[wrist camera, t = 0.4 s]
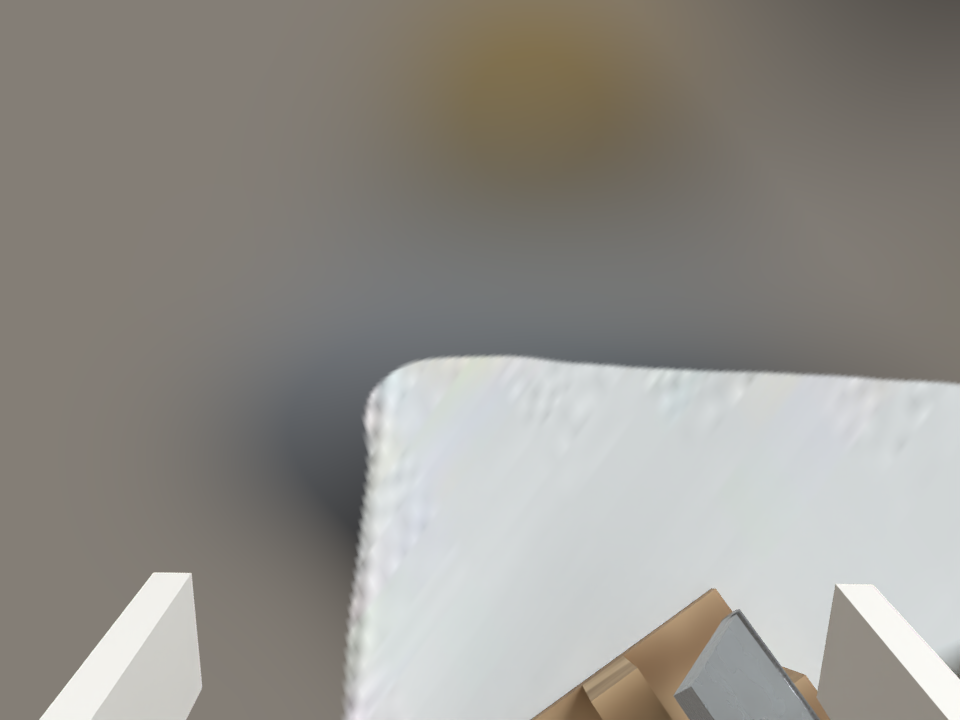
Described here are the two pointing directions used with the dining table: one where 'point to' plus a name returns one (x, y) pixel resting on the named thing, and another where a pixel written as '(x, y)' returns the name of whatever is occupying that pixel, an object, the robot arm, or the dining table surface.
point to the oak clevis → (656, 672)
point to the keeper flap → (740, 679)
